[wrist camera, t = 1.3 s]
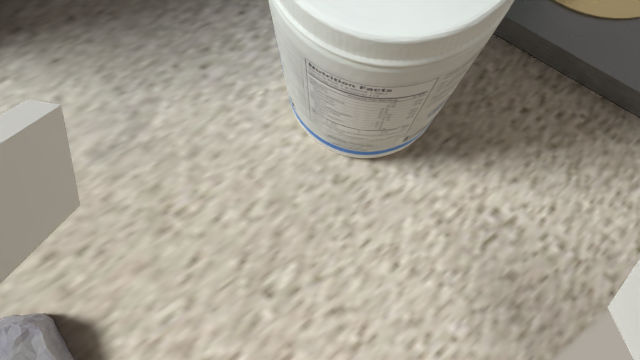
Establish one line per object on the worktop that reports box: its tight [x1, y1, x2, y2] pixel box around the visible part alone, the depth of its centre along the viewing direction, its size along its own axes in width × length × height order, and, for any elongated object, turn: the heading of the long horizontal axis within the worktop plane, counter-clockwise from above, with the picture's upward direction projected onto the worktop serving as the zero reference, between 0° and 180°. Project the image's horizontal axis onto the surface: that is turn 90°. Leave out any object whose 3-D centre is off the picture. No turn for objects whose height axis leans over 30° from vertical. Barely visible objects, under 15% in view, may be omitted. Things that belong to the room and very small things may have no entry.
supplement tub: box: [268, 0, 514, 158], centre depth 22 cm, size 10×10×15 cm
